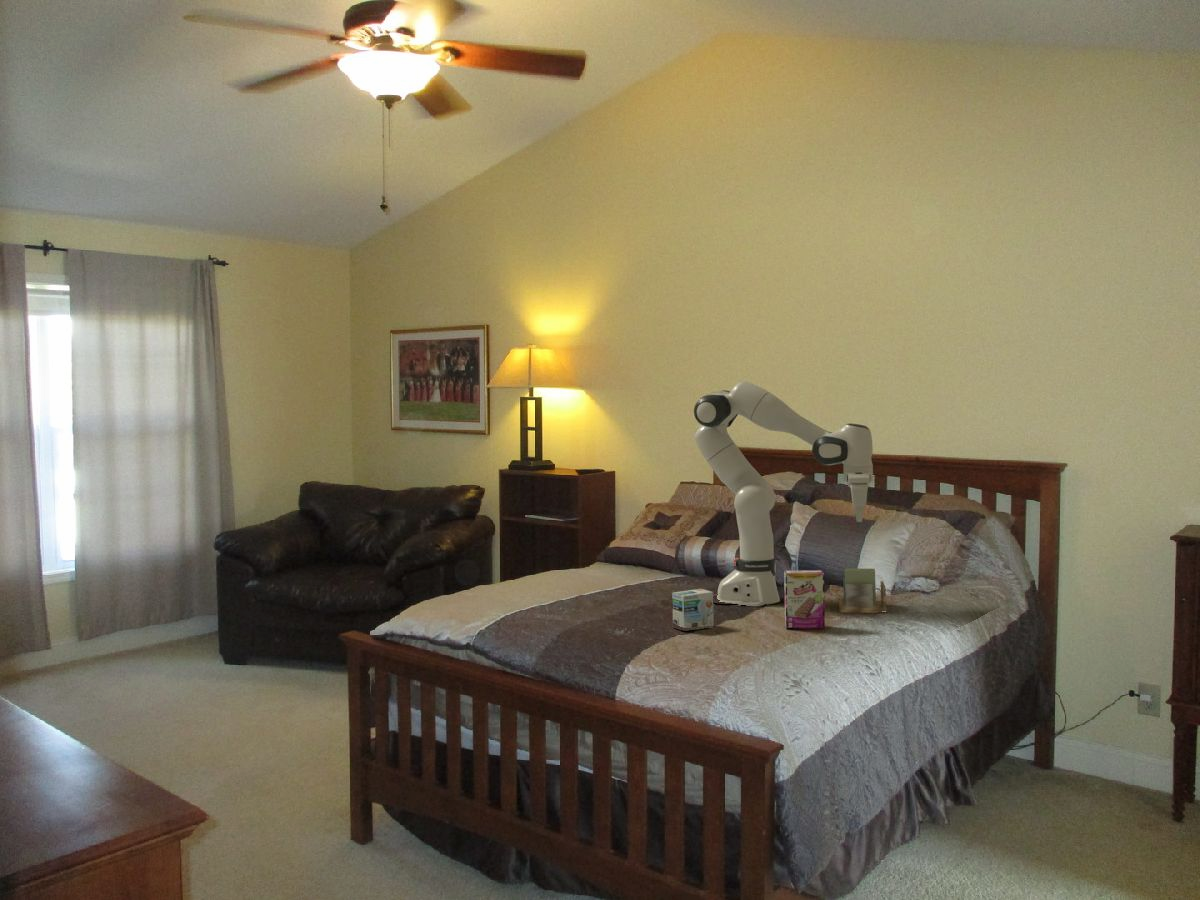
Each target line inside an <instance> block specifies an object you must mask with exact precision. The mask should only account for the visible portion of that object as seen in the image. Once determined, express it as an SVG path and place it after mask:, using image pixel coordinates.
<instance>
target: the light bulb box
mask: <svg viewBox="0 0 1200 900" xmlns="http://www.w3.org/2000/svg"><path fill="white" fill-rule="evenodd" d="M671 596H672V597H671V602H672V604H671V605H672V624H673V623H674V624H676V625H678V626H680V627H683V628H691V627H704V626H705V627H706V626H714V627H715V623H714V622H715V620H714V619H715V618H714V614H715V613H714V604H713V596H714V591H710V590H708V589H704V588H695V589H690V590H682V591H675V592H672V593H671Z"/></svg>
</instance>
